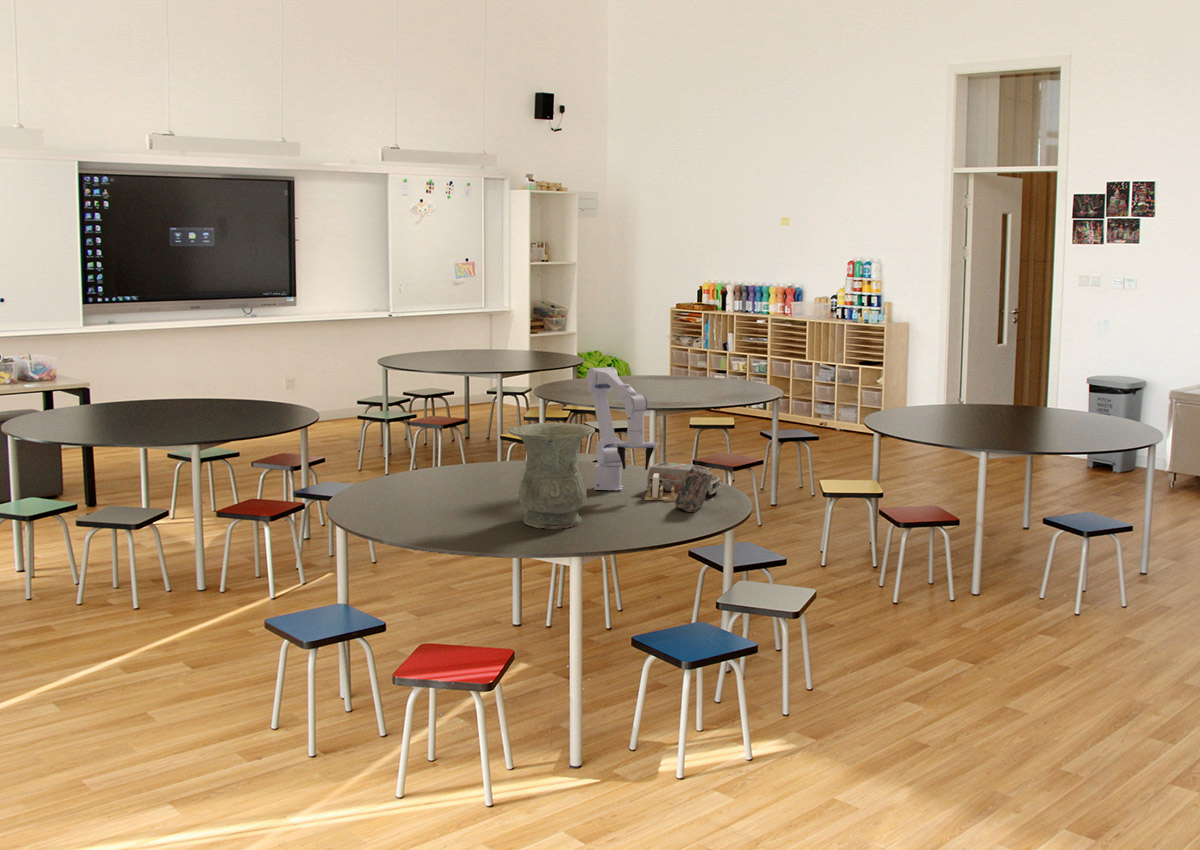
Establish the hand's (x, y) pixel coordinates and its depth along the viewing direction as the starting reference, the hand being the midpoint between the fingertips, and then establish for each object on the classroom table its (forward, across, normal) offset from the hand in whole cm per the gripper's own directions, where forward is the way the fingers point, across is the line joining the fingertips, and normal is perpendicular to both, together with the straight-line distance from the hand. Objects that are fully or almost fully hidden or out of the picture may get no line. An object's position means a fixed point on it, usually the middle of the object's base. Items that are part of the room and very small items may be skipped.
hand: (635, 469), depth 386 cm
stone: (+11, +20, -13) cm, 26 cm away
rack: (+10, +9, +2) cm, 14 cm away
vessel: (+11, -23, -37) cm, 45 cm away
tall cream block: (+9, +7, +2) cm, 12 cm away
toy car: (+11, +16, +12) cm, 23 cm away
